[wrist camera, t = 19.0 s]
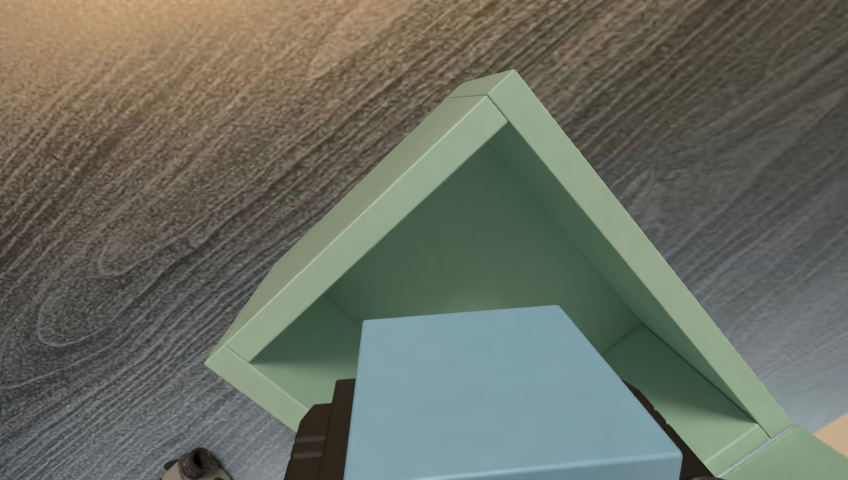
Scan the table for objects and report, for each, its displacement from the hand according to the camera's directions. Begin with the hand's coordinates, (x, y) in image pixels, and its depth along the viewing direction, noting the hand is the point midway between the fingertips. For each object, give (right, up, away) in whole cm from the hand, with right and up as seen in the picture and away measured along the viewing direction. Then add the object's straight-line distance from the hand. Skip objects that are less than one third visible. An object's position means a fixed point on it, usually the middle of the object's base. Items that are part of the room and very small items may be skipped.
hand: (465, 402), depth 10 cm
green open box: (+2, +1, +13) cm, 13 cm away
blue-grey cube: (0, 0, 0) cm, 0 cm away
